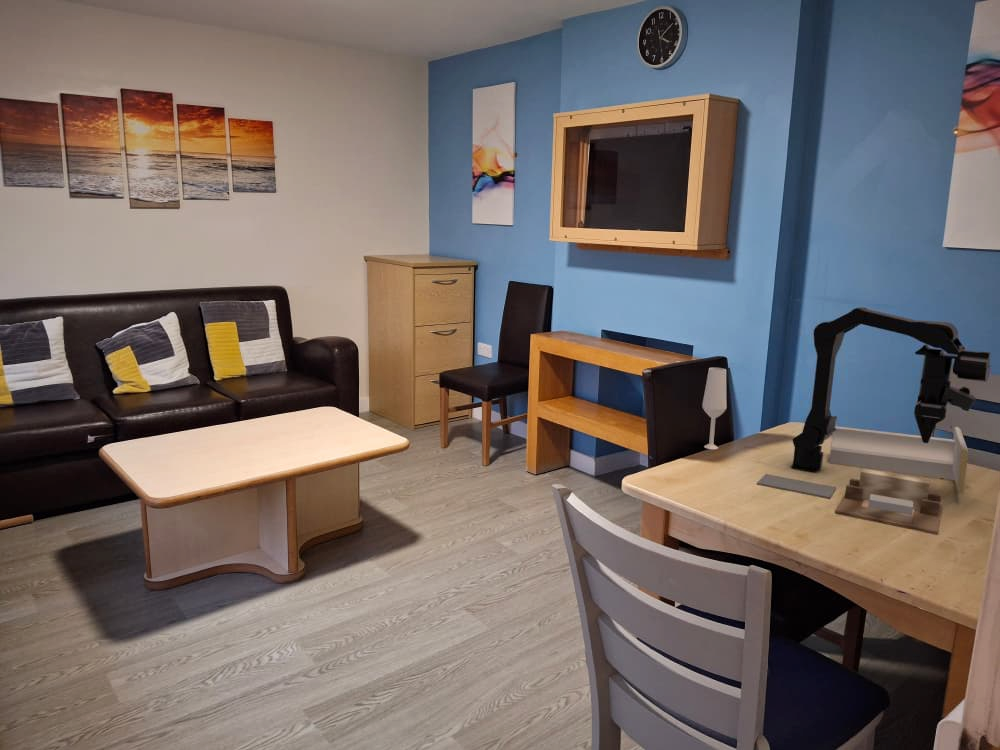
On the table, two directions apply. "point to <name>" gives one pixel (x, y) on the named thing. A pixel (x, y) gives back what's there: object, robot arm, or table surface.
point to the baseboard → (959, 459)
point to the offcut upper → (891, 504)
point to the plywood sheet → (894, 486)
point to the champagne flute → (715, 399)
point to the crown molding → (893, 452)
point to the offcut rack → (922, 520)
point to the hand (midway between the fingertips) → (926, 438)
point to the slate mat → (797, 486)
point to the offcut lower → (885, 513)
